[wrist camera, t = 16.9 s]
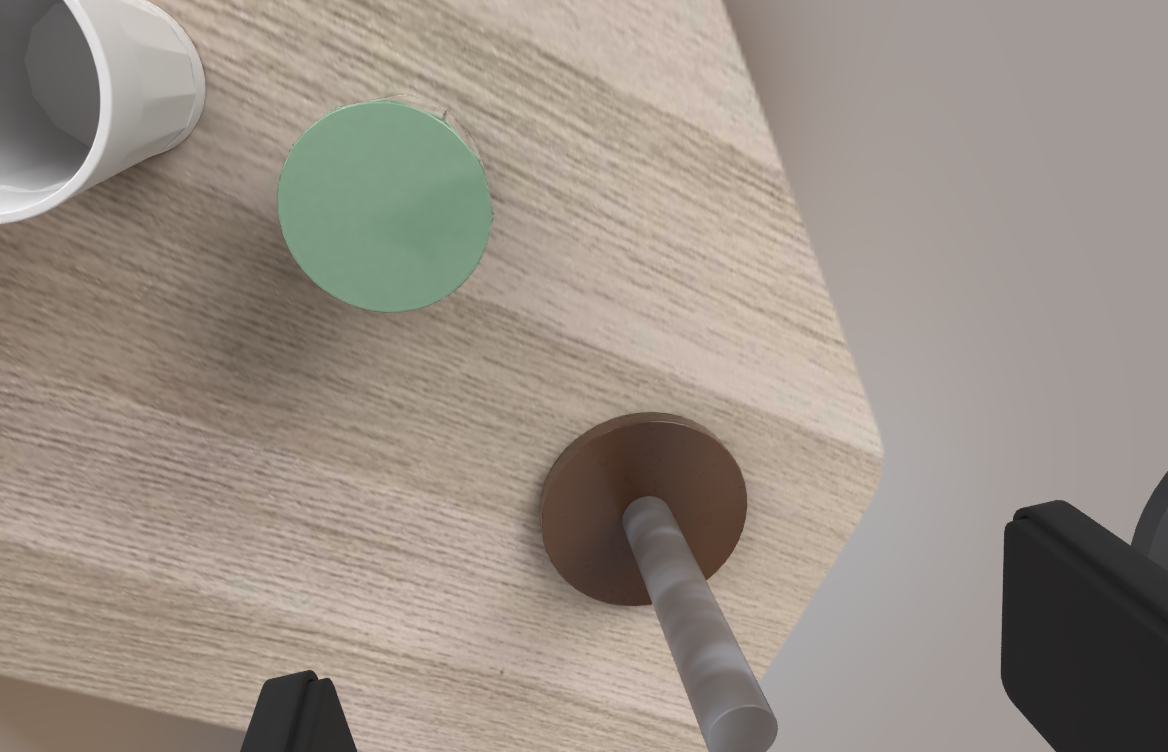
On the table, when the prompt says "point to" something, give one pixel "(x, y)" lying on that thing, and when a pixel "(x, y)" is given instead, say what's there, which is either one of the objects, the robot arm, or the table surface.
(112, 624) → the table surface
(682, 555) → the towel stand
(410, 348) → the table surface
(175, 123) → the cup
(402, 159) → the green cup
